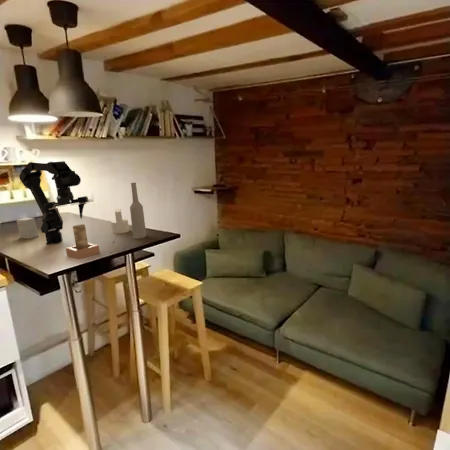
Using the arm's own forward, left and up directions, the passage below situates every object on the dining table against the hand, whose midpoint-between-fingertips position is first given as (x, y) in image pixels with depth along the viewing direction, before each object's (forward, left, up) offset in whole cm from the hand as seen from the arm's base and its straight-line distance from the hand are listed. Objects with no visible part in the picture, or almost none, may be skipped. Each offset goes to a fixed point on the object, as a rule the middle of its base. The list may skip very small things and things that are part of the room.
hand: (71, 220), depth 161 cm
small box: (-30, +30, -13) cm, 45 cm away
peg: (+7, -15, -13) cm, 21 cm away
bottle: (+31, +4, -13) cm, 34 cm away
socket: (+7, -16, -13) cm, 21 cm away
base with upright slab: (+20, +21, -13) cm, 32 cm away
